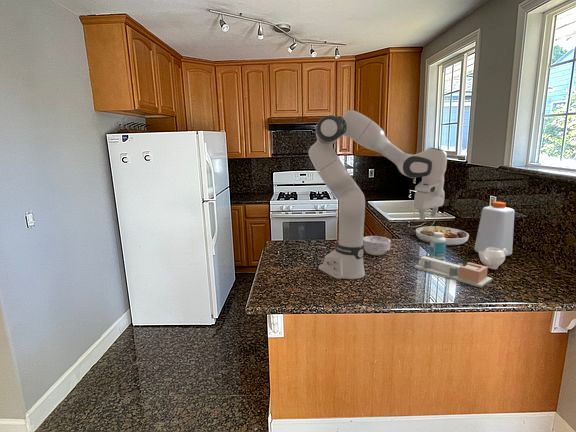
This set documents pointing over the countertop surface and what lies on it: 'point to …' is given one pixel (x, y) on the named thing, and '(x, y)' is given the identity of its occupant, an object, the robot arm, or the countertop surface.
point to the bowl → (450, 234)
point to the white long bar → (443, 264)
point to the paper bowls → (376, 245)
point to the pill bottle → (437, 246)
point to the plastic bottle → (496, 228)
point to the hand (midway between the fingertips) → (427, 217)
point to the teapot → (492, 257)
